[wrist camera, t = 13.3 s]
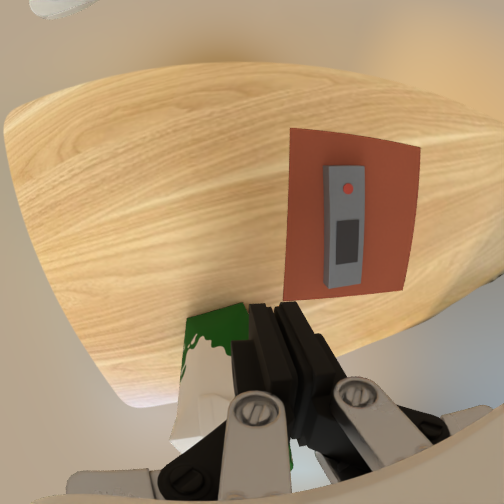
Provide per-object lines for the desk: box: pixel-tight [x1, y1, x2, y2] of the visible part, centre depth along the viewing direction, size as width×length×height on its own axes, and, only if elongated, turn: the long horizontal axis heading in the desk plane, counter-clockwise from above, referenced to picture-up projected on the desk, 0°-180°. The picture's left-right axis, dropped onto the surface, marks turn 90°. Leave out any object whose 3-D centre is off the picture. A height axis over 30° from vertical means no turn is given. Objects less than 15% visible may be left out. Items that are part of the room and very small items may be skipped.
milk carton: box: [169, 302, 293, 471], centre depth 25 cm, size 9×9×20 cm
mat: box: [283, 128, 420, 301], centre depth 32 cm, size 20×18×1 cm
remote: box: [323, 165, 365, 289], centre depth 31 cm, size 14×4×2 cm, turn 4°
